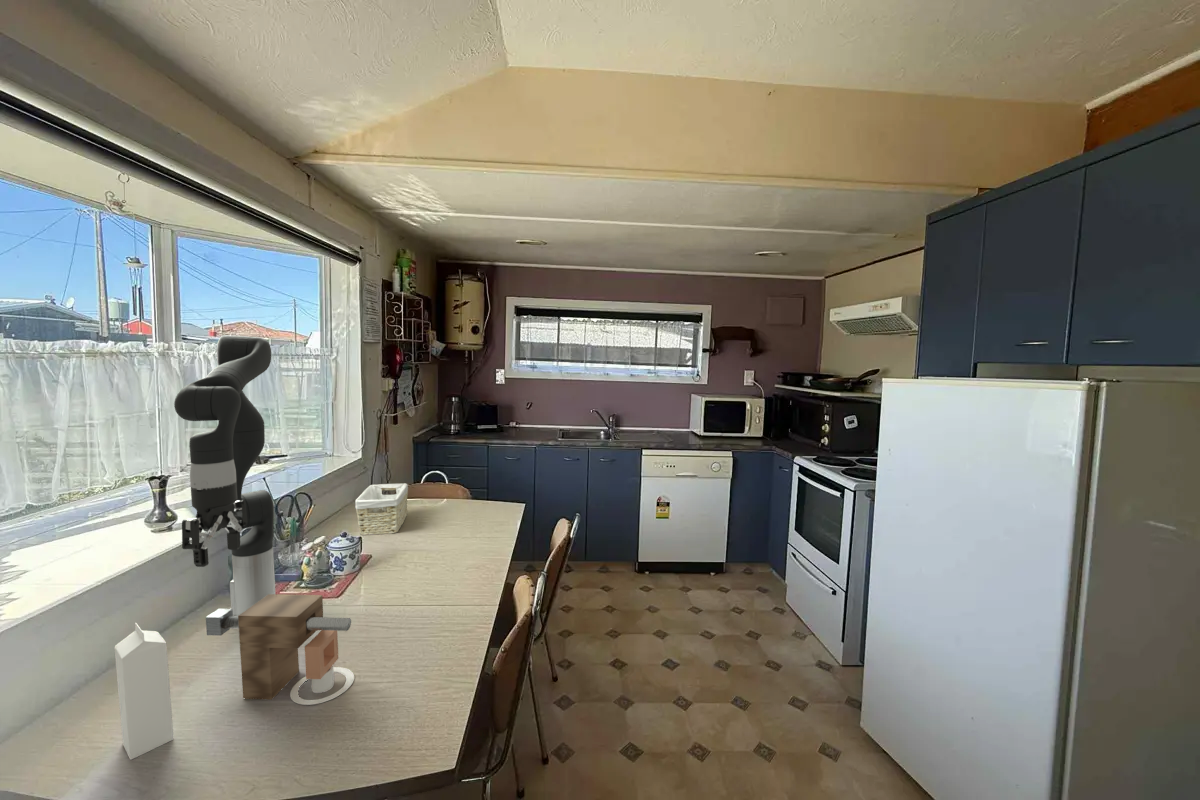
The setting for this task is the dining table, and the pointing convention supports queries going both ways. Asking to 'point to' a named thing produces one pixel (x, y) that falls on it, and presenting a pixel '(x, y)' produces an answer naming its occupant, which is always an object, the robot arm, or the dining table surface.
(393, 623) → the dining table surface
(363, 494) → the storage basket
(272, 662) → the bearing block
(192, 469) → the robot arm
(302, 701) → the candle holder
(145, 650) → the milk
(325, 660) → the spacer
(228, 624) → the shaft
